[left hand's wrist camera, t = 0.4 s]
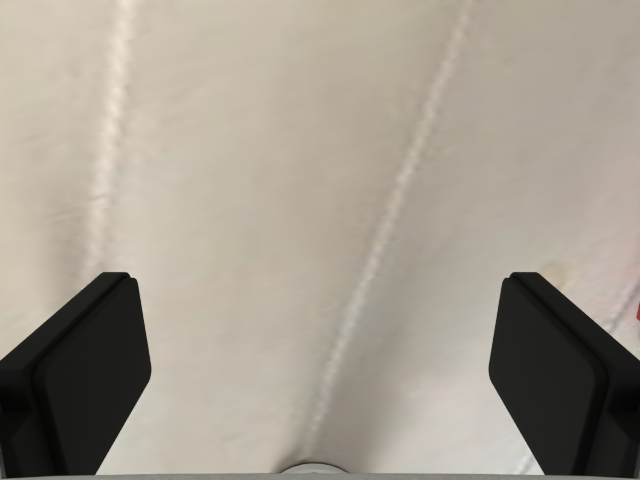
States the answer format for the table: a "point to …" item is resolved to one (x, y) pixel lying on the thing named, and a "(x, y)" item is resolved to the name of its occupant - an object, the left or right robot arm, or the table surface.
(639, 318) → the cabinet
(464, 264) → the table surface
